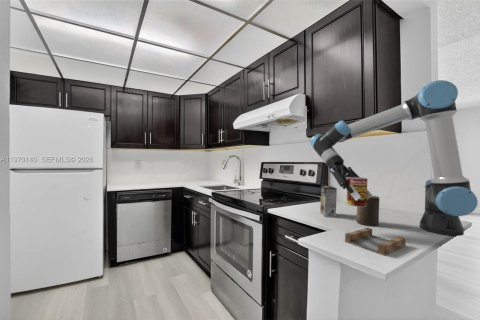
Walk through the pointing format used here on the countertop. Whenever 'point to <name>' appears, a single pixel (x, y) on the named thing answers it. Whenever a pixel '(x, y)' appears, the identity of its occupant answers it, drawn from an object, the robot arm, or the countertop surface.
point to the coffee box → (328, 201)
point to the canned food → (361, 188)
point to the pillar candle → (369, 212)
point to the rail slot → (374, 241)
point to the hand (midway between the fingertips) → (364, 197)
